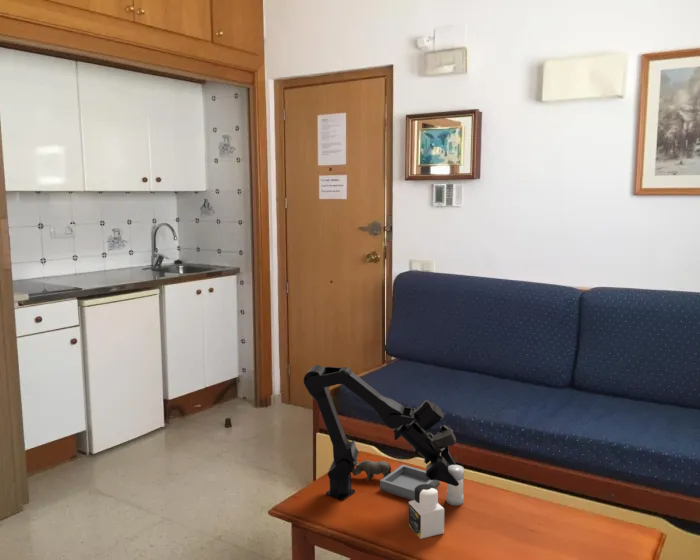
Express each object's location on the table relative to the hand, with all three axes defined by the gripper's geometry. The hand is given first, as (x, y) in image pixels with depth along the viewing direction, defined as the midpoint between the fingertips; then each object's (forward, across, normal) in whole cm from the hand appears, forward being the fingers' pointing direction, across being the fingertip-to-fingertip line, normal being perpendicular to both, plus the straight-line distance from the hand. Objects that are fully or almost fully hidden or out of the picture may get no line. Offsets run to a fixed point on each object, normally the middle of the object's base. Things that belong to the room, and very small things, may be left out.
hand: (457, 477), depth 184 cm
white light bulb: (+5, 0, +6) cm, 7 cm away
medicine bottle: (-1, -16, +11) cm, 20 cm away
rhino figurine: (-14, +11, +24) cm, 30 cm away
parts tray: (-5, +7, +15) cm, 17 cm away
